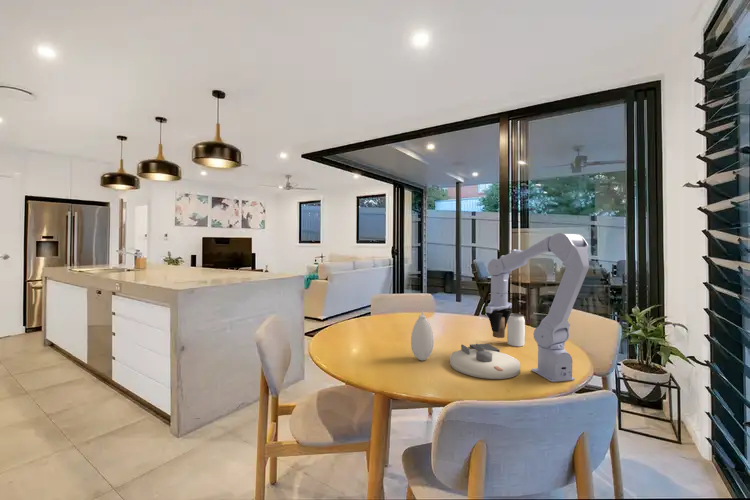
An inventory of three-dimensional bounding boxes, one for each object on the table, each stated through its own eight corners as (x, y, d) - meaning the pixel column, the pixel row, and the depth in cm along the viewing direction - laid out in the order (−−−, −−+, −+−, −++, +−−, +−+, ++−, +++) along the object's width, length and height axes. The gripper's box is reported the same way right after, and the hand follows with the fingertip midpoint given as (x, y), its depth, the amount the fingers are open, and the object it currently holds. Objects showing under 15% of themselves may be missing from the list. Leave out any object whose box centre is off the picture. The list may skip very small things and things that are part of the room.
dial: (535, 376, 104) (535, 363, 104) (468, 381, 100) (468, 367, 100) (496, 352, 126) (496, 342, 125) (439, 356, 121) (439, 345, 121)
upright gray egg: (432, 364, 114) (433, 310, 114) (409, 362, 116) (410, 309, 115) (433, 356, 122) (434, 306, 121) (411, 355, 123) (412, 305, 123)
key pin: (506, 337, 121) (507, 318, 121) (496, 338, 120) (496, 318, 120) (500, 334, 125) (500, 315, 125) (490, 335, 124) (490, 315, 124)
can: (506, 345, 136) (506, 315, 135) (508, 341, 141) (508, 312, 141) (523, 347, 133) (524, 317, 132) (525, 343, 138) (525, 314, 138)
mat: (499, 352, 127) (499, 349, 127) (479, 353, 125) (479, 351, 125) (488, 346, 135) (488, 343, 135) (469, 347, 133) (469, 344, 133)
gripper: (499, 289, 130) (498, 325, 130) (478, 293, 120) (477, 331, 121) (517, 291, 124) (516, 328, 125) (496, 295, 115) (495, 335, 115)
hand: (498, 330), depth 122 cm, fingers closed on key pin, 4 cm apart
